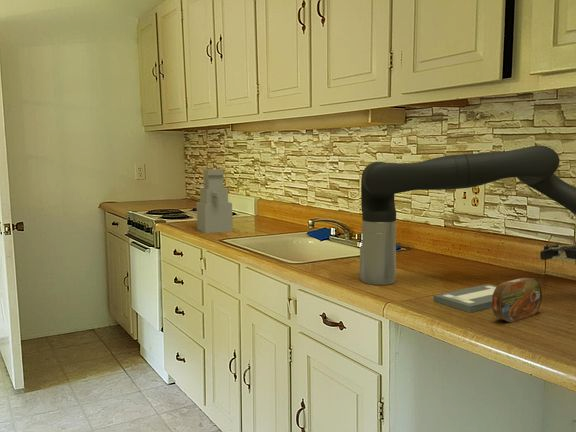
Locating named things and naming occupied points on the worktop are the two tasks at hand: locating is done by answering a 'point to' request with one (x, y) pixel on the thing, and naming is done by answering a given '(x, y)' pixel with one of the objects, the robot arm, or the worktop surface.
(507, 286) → the tin
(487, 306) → the letter board
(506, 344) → the worktop surface
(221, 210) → the stacked tiered boxes
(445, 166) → the robot arm
